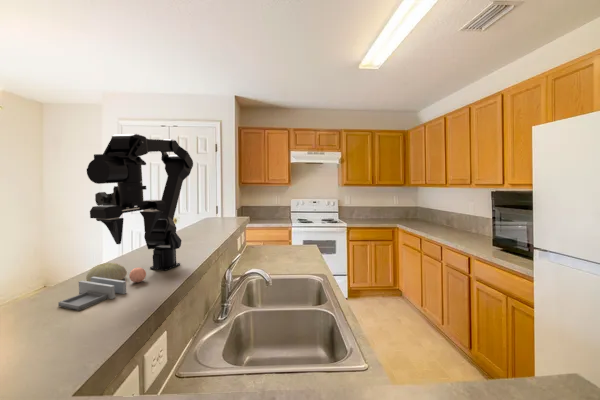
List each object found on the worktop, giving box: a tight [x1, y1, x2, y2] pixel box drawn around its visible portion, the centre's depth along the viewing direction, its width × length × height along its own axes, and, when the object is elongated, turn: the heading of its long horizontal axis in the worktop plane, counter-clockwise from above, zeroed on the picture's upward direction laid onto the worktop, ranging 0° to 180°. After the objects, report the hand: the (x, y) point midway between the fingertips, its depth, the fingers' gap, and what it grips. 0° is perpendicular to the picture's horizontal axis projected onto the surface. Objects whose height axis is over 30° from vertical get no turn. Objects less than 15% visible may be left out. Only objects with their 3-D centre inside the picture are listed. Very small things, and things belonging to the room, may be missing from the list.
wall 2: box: [91, 277, 127, 295], centre depth 72 cm, size 1×11×3 cm, turn 72°
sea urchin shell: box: [85, 262, 128, 282], centre depth 79 cm, size 9×8×8 cm
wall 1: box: [78, 280, 116, 300], centre depth 69 cm, size 1×11×3 cm, turn 72°
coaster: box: [58, 291, 108, 312], centre depth 65 cm, size 6×6×1 cm
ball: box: [129, 267, 147, 283], centre depth 78 cm, size 4×4×4 cm
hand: (133, 239), depth 77 cm, fingers open, 9 cm apart
